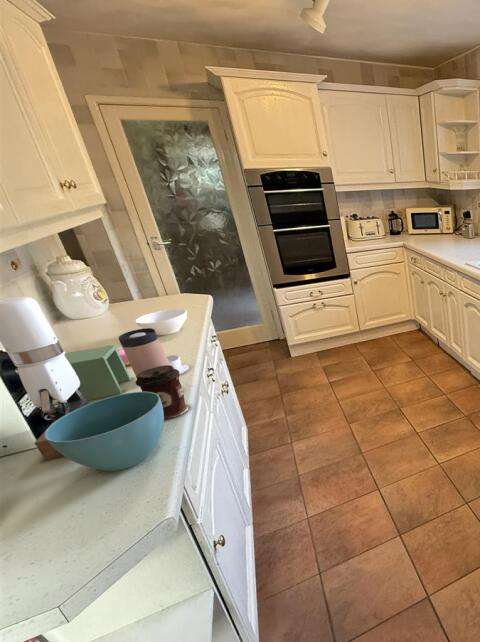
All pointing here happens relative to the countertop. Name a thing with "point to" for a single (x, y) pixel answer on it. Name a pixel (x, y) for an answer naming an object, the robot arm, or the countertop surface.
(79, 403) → the black block
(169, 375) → the coffee cup
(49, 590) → the countertop surface
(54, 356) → the robot arm
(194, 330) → the countertop surface
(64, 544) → the countertop surface
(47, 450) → the low shelf
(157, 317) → the bowl
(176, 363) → the teacup
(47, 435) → the blue dish
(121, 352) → the doughnut
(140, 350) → the travel mug
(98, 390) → the high shelf
